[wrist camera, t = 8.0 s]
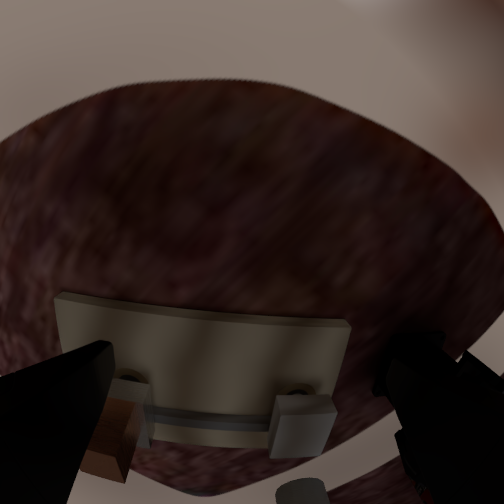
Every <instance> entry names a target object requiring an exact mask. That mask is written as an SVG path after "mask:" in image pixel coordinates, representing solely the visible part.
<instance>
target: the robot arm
mask: <svg viewBox="0 0 504 504" xmlns="http://www.w3.org/2000/svg"><path fill="white" fill-rule="evenodd" d="M441 336H442V337H441ZM396 339H397V341H395V340H396ZM445 339H446V334H445V333H444V332H443V331H439V332H423V333H404V334H395V335H393V336H392V337H391V339H390V343H389V346H388V349H387V352H386V355H385V358H384V360H383V363H382V366H381V369H380V371H379V374H378V377H377V380H376V383H375V386H374V388H373V391H372V393H373V395H374V396H375V397H379V396H386V397H387V398H388V400H389V401H390V403H391V404H392V405H393V407H394V408H395V411H396V414H397V416H398V419H399V421H400V423H401V426H402V429H401V430H398V431H397V432H396V433H395V435H394V436H395V439H396V442H397V446H398V449H399V453H400V456H401V459H402V463H403V466H404V469H405V473H406V474H407V475H408V476H409V478H410V479H411V480H413V481H415V482H416V483H417V484H419V485H420V486H422V487H425V488H427V489H428V490H429V492H430V495H431V497H432V500H433V502H434V504H504V380H503V379H502V378H501V377H500V376H498V375H497V374H496V373H495V372H493V371H492V370H491V369H490V368H489V367H487V366H486V365H485V364H484V363H482V362H481V361H480V360H479V359H477V358H476V357H475V356H473V355H472V354H471V353H469V352H468V351H467V350H465V352H464V353H463V355H462V358H461V359H460V361H459V362H458V363H457V362H456V361H455V360H454V359H453V358H451V357H450V356H449V355H448V354H447V353H446V352H444V351H443V350H442V347H443V344H444V341H445ZM115 368H116V364H115V357H114V348H113V344H112V343H111V342H110V341H105V340H97V341H95V342H92V343H90V344H87V345H85V346H82V347H79V348H77V349H74V350H72V351H69V352H66V353H64V354H61V355H59V356H56V357H53V358H51V359H48V360H45V361H43V362H40V363H37V364H35V365H32V366H29V367H27V368H24V369H21V370H18V371H16V372H15V373H14V372H13V373H10V374H7V375H5V376H2V377H0V504H67V501H68V498H69V495H70V492H71V489H72V487H73V483H74V481H75V478H76V475H77V473H78V470H79V468H80V465H81V462H82V460H83V457H84V455H85V452H86V450H87V447H88V445H89V442H90V440H91V437H92V435H93V433H94V430H95V428H96V426H97V423H98V421H99V418H100V416H101V414H102V411H103V409H104V406H105V402H106V399H107V396H108V392H109V389H110V386H111V382H112V379H113V376H114V373H115ZM377 391H378V392H377Z"/></svg>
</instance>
